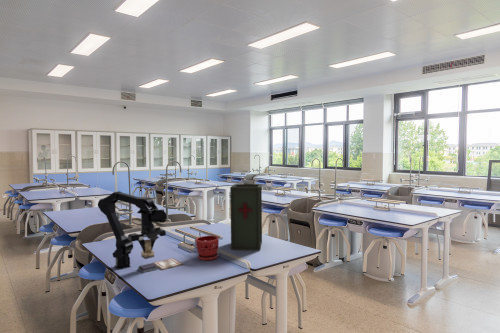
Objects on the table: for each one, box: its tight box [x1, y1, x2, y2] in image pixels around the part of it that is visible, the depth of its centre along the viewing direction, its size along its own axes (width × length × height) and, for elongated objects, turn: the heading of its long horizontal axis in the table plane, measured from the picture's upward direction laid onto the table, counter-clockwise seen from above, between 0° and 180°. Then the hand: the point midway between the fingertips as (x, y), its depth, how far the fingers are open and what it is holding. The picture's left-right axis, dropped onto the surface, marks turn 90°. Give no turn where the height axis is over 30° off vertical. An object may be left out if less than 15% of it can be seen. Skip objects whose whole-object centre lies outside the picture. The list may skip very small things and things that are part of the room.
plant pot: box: [195, 235, 220, 261], centre depth 192 cm, size 13×13×12 cm
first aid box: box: [229, 183, 263, 251], centre depth 215 cm, size 18×18×40 cm
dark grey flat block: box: [137, 262, 159, 274], centre depth 174 cm, size 8×7×2 cm
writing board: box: [152, 257, 185, 271], centre depth 182 cm, size 13×13×1 cm
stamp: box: [140, 239, 155, 260], centre depth 174 cm, size 5×5×9 cm
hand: (147, 250), depth 174 cm, fingers closed on stamp, 4 cm apart
